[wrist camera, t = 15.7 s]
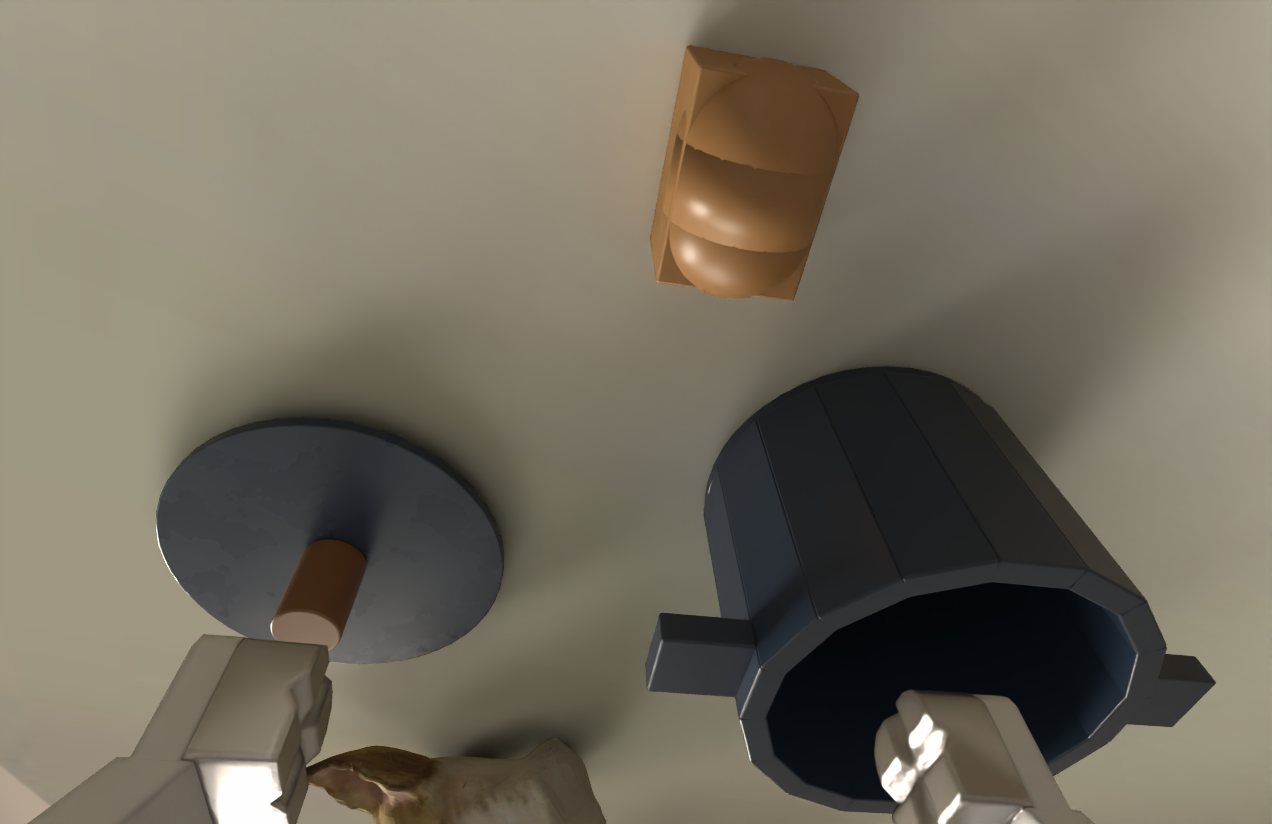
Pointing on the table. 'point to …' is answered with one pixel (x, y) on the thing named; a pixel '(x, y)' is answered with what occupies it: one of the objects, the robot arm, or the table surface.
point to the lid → (331, 539)
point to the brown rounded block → (747, 173)
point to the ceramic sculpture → (461, 787)
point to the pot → (906, 587)
